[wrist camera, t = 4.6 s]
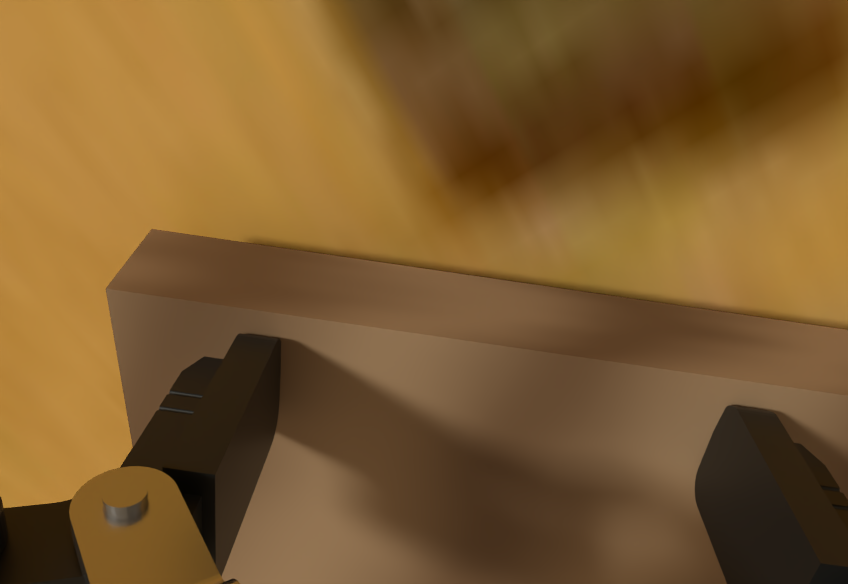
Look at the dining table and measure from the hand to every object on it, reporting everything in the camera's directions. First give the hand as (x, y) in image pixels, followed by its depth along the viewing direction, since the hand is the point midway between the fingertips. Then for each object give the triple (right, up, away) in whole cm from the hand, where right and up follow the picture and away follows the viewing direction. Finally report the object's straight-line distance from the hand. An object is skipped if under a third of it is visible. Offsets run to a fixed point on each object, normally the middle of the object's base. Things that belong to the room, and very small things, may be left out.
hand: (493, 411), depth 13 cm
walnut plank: (+1, -2, +4) cm, 4 cm away
